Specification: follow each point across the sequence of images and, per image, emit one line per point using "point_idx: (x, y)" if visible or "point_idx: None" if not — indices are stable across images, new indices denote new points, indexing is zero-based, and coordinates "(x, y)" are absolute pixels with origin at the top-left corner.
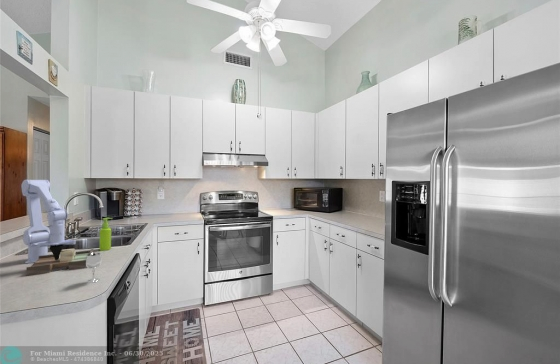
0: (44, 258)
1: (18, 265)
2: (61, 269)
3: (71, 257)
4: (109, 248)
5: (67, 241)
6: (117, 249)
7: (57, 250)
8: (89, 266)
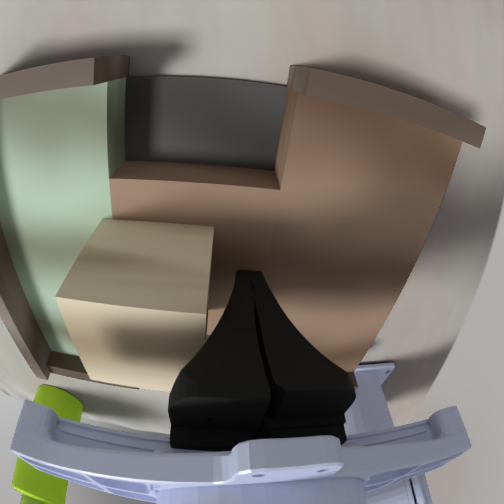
0: None
1: (417, 347)
2: (189, 84)
3: (99, 240)
4: (37, 391)
5: (92, 476)
6: (5, 369)
7: (242, 351)
8: None
